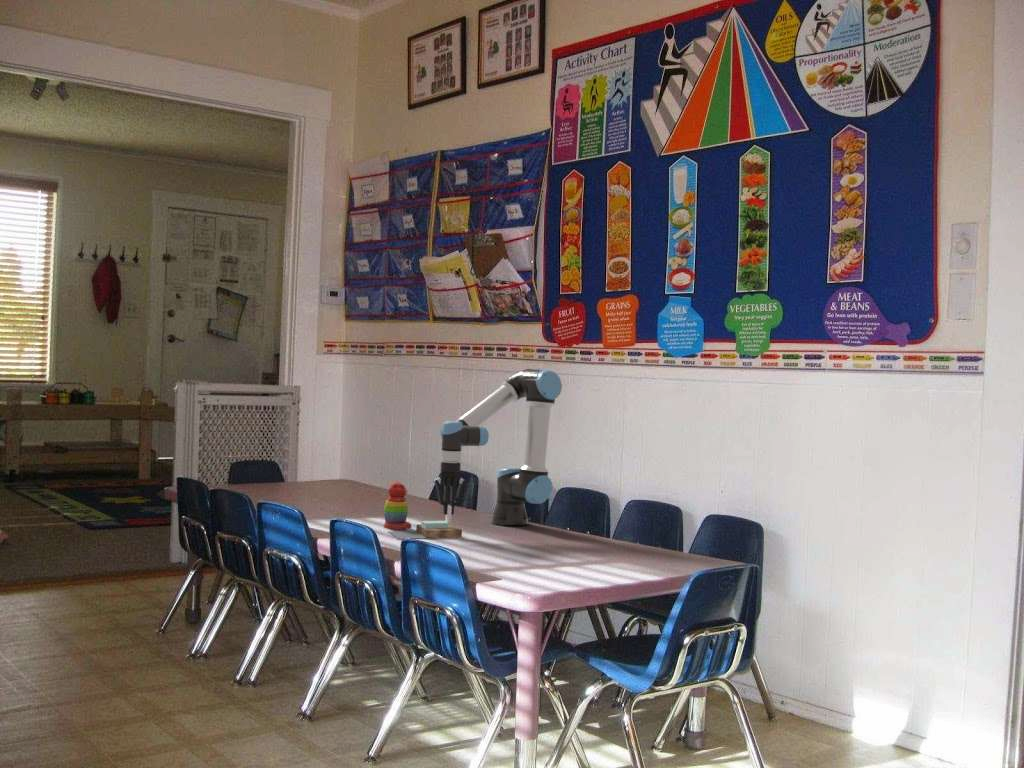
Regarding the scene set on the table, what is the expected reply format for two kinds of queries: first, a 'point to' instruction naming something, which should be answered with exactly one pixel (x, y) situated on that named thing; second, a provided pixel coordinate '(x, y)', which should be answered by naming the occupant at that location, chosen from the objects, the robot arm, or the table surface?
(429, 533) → the tan flat square slab
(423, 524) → the mint green block
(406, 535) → the mat
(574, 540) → the table surface
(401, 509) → the stacking bear
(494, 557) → the table surface
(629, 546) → the table surface
